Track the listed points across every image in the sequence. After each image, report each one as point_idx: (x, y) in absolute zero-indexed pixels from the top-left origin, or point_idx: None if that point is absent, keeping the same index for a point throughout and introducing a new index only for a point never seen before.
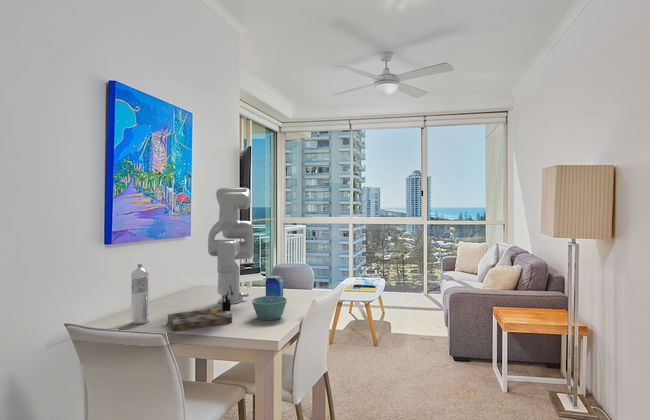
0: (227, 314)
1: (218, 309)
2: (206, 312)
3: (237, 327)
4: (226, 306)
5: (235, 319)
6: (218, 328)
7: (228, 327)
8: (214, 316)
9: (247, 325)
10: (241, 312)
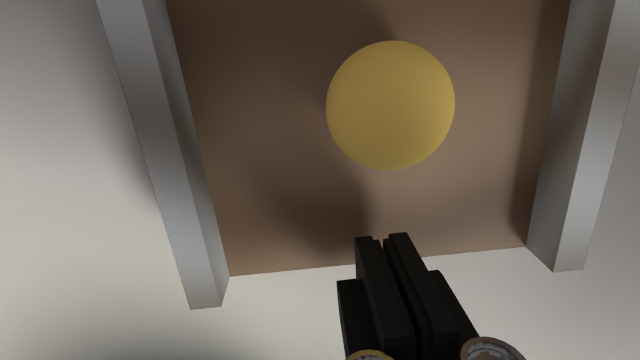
0: (176, 254)
1: (557, 199)
2: (577, 12)
3: (25, 253)
4: (342, 321)
5: (325, 284)
6: (12, 74)
7: (39, 180)
8: (122, 66)
9: (81, 330)
10: (530, 357)
